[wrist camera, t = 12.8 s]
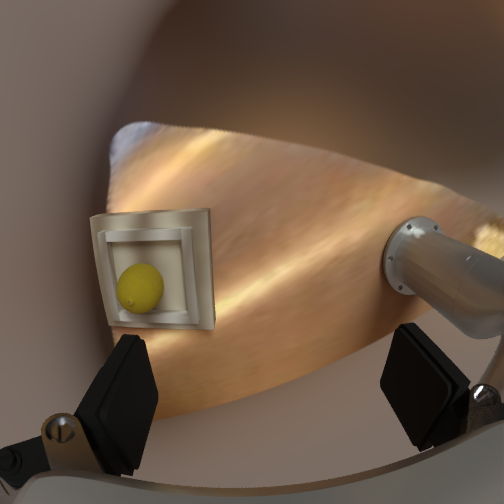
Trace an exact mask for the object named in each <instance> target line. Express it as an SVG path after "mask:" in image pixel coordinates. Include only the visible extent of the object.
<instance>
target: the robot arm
mask: <svg viewBox="0 0 504 504" xmlns="http://www.w3.org/2000/svg"><path fill="white" fill-rule="evenodd" d="M383 269H384V274H385V277H386V280H387V281H388V283H389V284H390V286H391V287H392V288H394V289H395V290H396V291H397V292H399V293H401V294H404V295H415V294H417V295H418V296H420V297H421V298H422V299H423V300H424V301H426V302H427V303H428V304H429V305H431V306H432V307H433V308H434V309H436V310H437V311H438V312H439V313H440V314H442V315H443V316H444V317H445V318H446V319H447V320H449V321H450V322H451V323H452V324H454V326H456V327H457V328H458V329H459V330H461V331H462V332H463V333H464V334H465V335H467V336H469V337H471V338H474V339H488V338H492V337H496V336H499V335H501V340H500V342H499V345H498V347H497V349H496V351H495V354H494V356H493V358H492V360H491V362H490V363H489V365H488V367H487V368H486V370H485V372H484V374H483V375H482V377H481V379H480V380H479V382H478V384H476V385H475V386H473V387H472V388H471V390H470V389H469V388H468V386H469V384H470V380H469V379H468V378H467V377H466V376H465V375H464V374H463V373H462V372H461V371H460V369H459V368H458V367H457V366H456V365H455V364H454V363H453V362H452V361H451V360H450V359H449V358H448V357H447V356H446V355H445V354H444V352H443V351H441V349H440V348H439V347H438V346H437V345H436V344H435V343H434V342H433V341H432V340H431V339H430V338H429V337H428V336H427V335H426V334H425V333H424V332H423V331H422V330H421V329H420V328H419V327H418V326H417V325H416V324H415V323H405V324H401V325H399V327H398V328H397V329H396V330H395V332H394V336H393V339H392V343H391V347H390V350H389V354H388V357H387V360H386V364H385V367H384V370H383V373H382V376H381V379H380V387H381V389H382V391H383V393H384V394H385V396H386V398H387V400H388V401H389V403H390V404H391V407H392V408H393V410H394V412H395V414H396V415H397V417H398V419H399V421H400V422H401V424H402V426H403V428H404V430H405V432H406V433H407V435H408V437H409V439H410V441H411V442H412V444H413V445H414V446H417V448H418V450H419V451H420V452H421V451H424V450H426V449H429V448H431V447H432V445H433V446H434V448H432V449H430V450H428V451H425V452H423V453H420V454H418V455H415V456H412V457H409V458H407V459H404V460H401V461H398V462H395V463H392V464H389V465H385V466H382V467H379V468H375V469H372V470H368V471H364V472H360V473H356V474H352V475H348V476H343V477H338V478H333V479H328V480H322V481H316V482H310V483H303V484H295V485H285V486H274V487H258V488H207V487H191V486H181V485H171V484H163V483H155V482H148V481H142V480H137V479H131V478H125V477H121V474H124V475H129V476H133V471H134V469H136V470H137V469H138V468H139V466H140V463H141V459H142V455H143V451H144V448H145V444H146V440H147V436H148V433H149V430H150V426H151V423H152V419H153V416H154V413H155V409H156V406H157V403H158V391H157V387H156V384H155V380H154V376H153V373H152V369H151V365H150V361H149V357H148V353H147V349H146V344H145V341H144V340H143V339H140V337H139V336H138V335H128V334H123V335H122V337H121V338H120V340H119V341H118V343H117V345H116V346H115V348H114V349H113V351H112V353H111V354H110V356H109V357H108V359H107V361H106V362H105V364H104V366H103V367H102V368H101V369H100V370H99V372H98V373H97V375H96V377H95V379H94V380H93V382H92V384H91V385H90V387H89V389H88V390H87V392H86V394H85V396H84V397H83V399H82V401H81V403H80V404H79V406H78V408H77V410H76V412H75V413H74V415H71V414H68V413H58V414H54V415H52V416H50V417H49V418H48V419H46V420H45V422H44V423H43V425H42V428H41V436H38V437H35V438H32V439H29V440H26V441H23V442H20V443H17V444H13V445H10V446H7V447H4V448H2V449H0V504H504V261H502V260H501V259H498V258H496V257H494V256H492V255H490V254H488V253H485V252H483V251H481V250H479V249H476V248H474V247H472V246H470V245H467V244H465V243H463V242H460V241H458V240H455V239H453V238H451V237H448V236H446V235H445V234H444V232H443V230H442V228H441V227H440V226H439V224H438V223H436V222H435V221H434V220H432V219H430V218H426V217H419V216H418V217H413V218H410V219H408V220H406V221H404V222H403V223H402V224H400V225H399V226H398V227H397V228H396V229H395V231H394V232H393V234H392V235H391V236H390V238H389V240H388V243H387V245H386V248H385V251H384V257H383Z"/></svg>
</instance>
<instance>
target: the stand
mask: <svg viewBox="0 0 504 504" xmlns="http://www.w3.org/2000/svg"><path fill="white" fill-rule="evenodd" d="M90 223H91V232H92V240H93V247H94V254H95V261H96V267H97V272H98V278H99V283H100V288H101V293H102V298H103V302H104V307H105V311H106V315H107V319H108V323H109V326H123V327H139V328H159V329H197V330H214V327H215V321H216V315H215V301H214V285H213V267H212V247H211V222H210V208H200V209H174V210H153V211H136V212H120V213H106V214H98V215H96V216H93V217H91V218H90ZM138 263H146V264H149V265H151V266H153V267H155V268H156V269H157V270H158V271H159V272H160V274H161V275H162V278H163V281H164V291H163V295H162V298H161V300H160V302H159V303H158V304H157V305H156V306H155V307H154V308H153V309H151V310H150V311H148V312H146V313H142V314H135V313H131V312H129V311H127V310H126V309H124V308H123V307H122V306H121V304H120V303H119V301H118V298H117V295H116V287H117V282H118V280H119V278H120V276H121V274H122V273H123V272H124V271H125V270H126V269H127V268H128V267H130V266H132V265H134V264H138Z"/></svg>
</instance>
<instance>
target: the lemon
mask: <svg viewBox="0 0 504 504" xmlns="http://www.w3.org/2000/svg"><path fill="white" fill-rule="evenodd" d="M163 291H164V281H163V278H162V275H161V274H160V272H159V271H158V270H157V269H156V268H155V267H153V266H151V265H149V264H146V263H138V264H134V265H132V266H130V267H128V268H127V269H126V270H125V271H124V272H123V273H122V274H121V276H120V278H119V280H118V282H117V287H116V295H117V298H118V301H119V303H120V304H121V306H122V307H123V308H124V309H126V310H127V311H129V312H131V313H135V314H142V313H146V312H148V311H150V310H151V309H153V308H154V307H155V306H156V305H157V304H158V303H159V302H160V300H161V298H162V295H163Z"/></svg>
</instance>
